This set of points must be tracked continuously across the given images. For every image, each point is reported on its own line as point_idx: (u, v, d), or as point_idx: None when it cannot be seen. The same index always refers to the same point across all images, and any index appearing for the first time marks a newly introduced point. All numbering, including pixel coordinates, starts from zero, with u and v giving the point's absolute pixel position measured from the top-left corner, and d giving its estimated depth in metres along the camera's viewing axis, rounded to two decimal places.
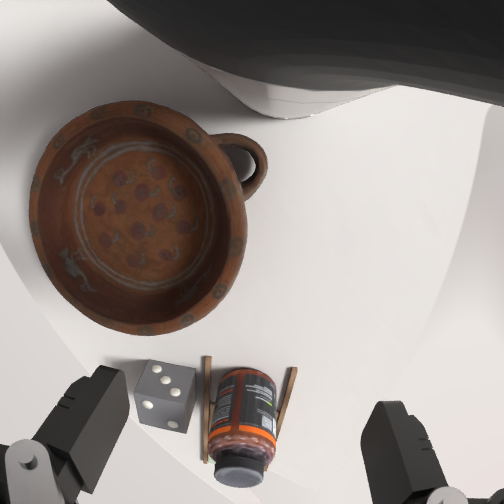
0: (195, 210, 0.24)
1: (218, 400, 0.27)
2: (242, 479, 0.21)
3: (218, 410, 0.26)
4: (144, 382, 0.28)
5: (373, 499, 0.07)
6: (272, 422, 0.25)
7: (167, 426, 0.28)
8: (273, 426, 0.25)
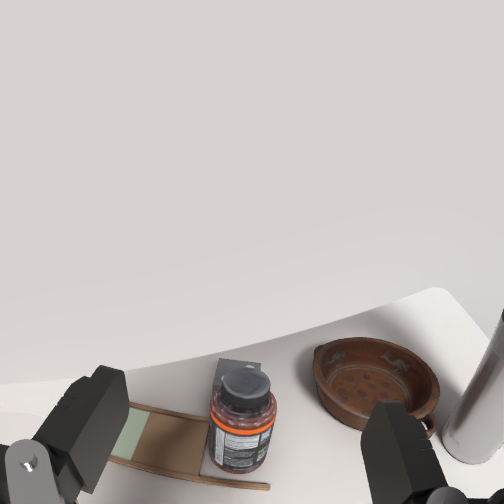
0: None
1: None
2: (247, 383, 0.25)
3: None
4: None
5: (373, 499, 0.07)
6: (258, 442, 0.24)
7: (221, 374, 0.34)
8: (257, 440, 0.24)
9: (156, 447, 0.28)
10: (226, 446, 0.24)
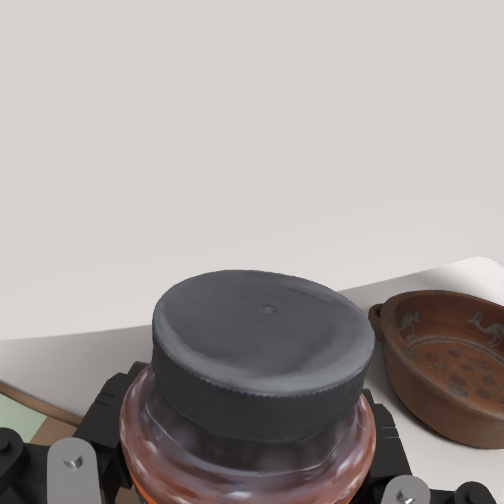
0: None
1: None
2: (271, 318, 0.05)
3: None
4: None
5: None
6: None
7: None
8: None
9: None
10: None
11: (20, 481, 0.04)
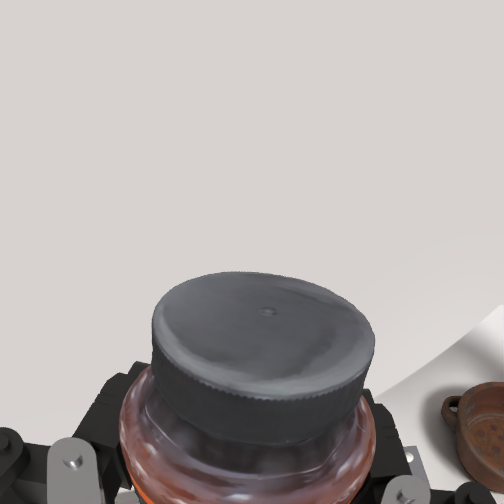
0: None
1: None
2: (271, 321, 0.05)
3: None
4: None
5: None
6: None
7: None
8: None
9: None
10: None
11: (20, 481, 0.04)
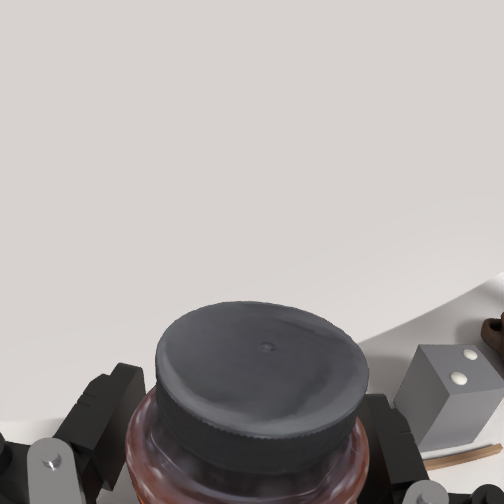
0: None
1: None
2: (269, 357, 0.05)
3: None
4: None
5: None
6: None
7: (445, 372, 0.15)
8: None
9: None
10: None
11: (4, 478, 0.04)
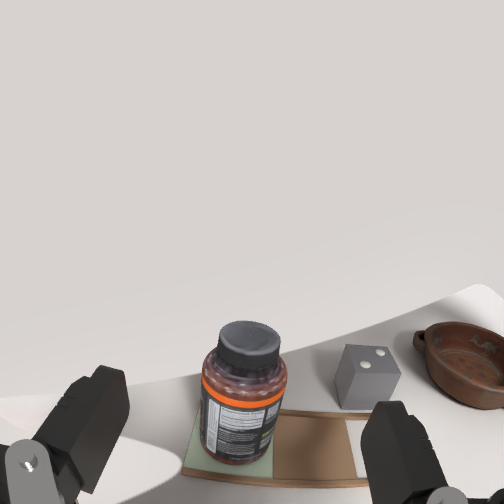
0: None
1: None
2: (251, 337, 0.20)
3: None
4: None
5: (373, 499, 0.07)
6: (263, 421, 0.20)
7: (357, 361, 0.29)
8: (262, 418, 0.19)
9: (298, 456, 0.22)
10: (221, 426, 0.19)
11: None
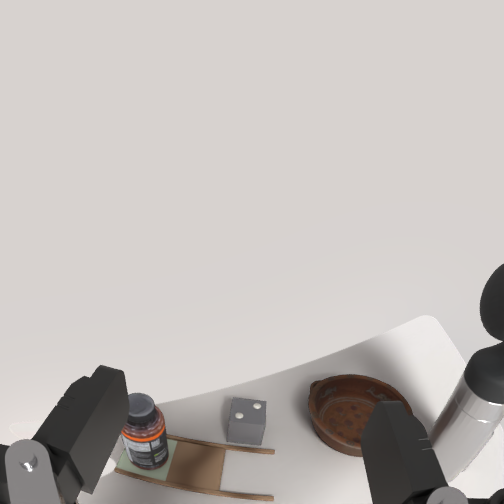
0: None
1: None
2: (137, 405, 0.32)
3: None
4: None
5: (373, 499, 0.07)
6: (150, 448, 0.32)
7: (235, 412, 0.41)
8: (148, 446, 0.31)
9: (185, 469, 0.35)
10: (129, 448, 0.32)
11: None
